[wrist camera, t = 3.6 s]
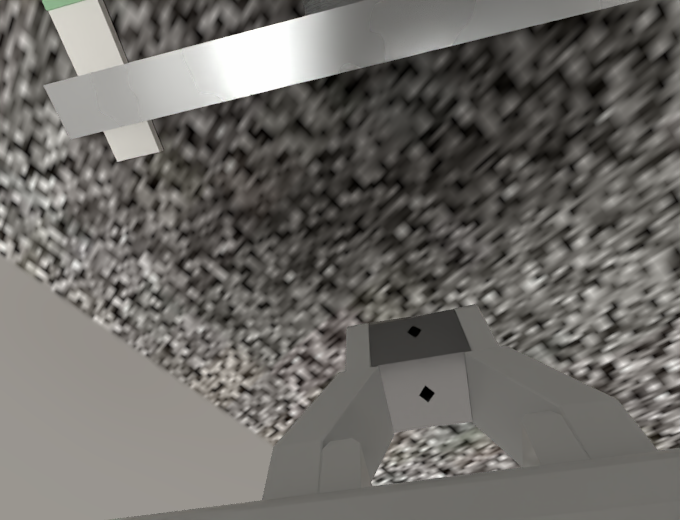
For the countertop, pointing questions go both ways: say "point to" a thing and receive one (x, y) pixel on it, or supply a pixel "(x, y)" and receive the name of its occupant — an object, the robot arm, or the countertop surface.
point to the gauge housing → (100, 64)
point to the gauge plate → (291, 55)
